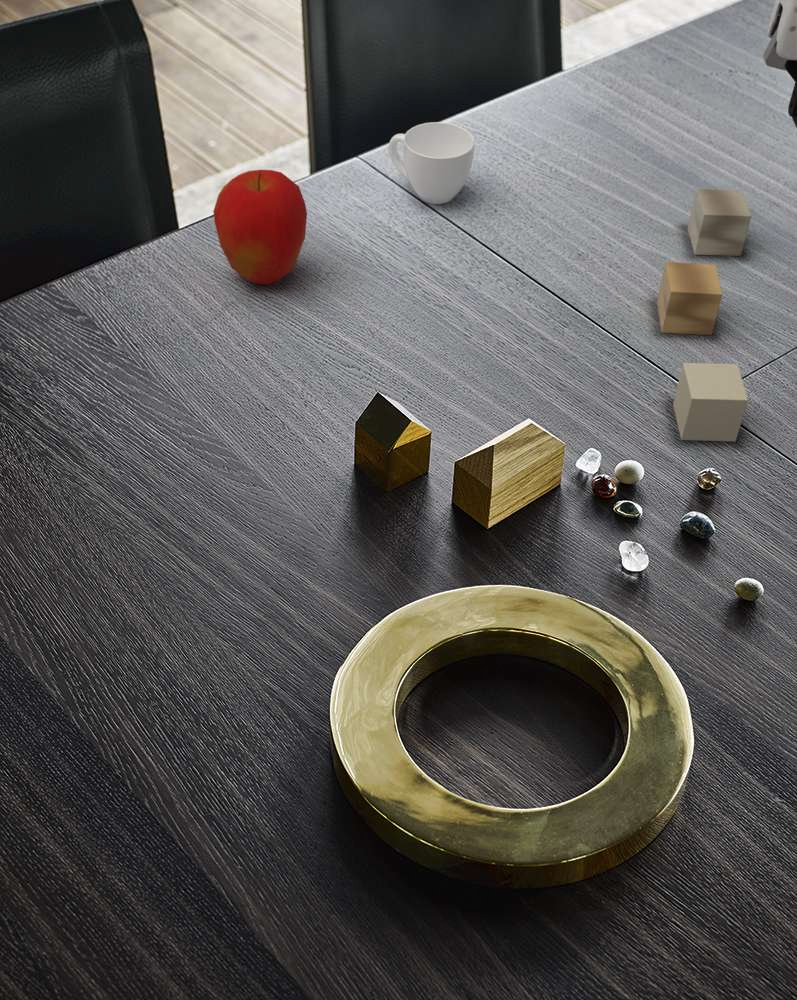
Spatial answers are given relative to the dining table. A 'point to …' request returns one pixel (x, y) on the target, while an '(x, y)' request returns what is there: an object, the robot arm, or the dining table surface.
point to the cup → (434, 159)
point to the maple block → (689, 298)
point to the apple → (261, 224)
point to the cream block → (710, 402)
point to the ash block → (719, 222)
